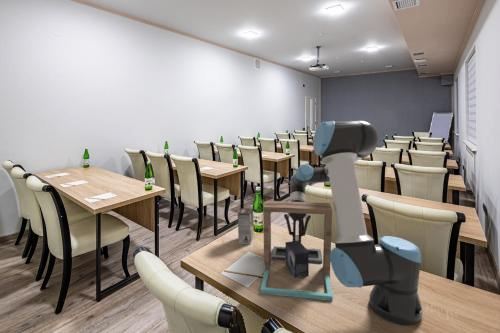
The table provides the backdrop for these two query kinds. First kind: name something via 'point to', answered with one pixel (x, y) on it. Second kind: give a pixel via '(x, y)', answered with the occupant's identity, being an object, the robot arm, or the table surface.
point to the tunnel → (298, 208)
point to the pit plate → (314, 254)
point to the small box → (297, 259)
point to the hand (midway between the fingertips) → (296, 249)
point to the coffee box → (245, 226)
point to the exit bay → (294, 292)
